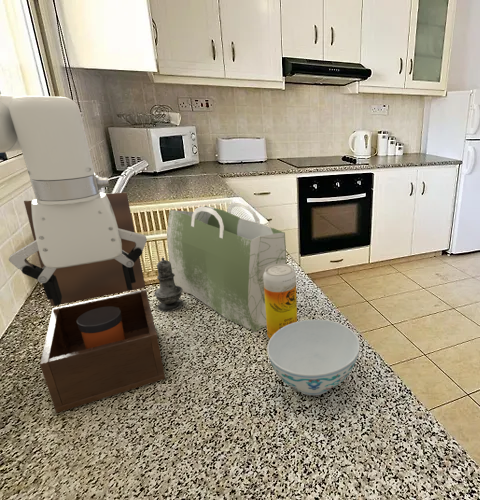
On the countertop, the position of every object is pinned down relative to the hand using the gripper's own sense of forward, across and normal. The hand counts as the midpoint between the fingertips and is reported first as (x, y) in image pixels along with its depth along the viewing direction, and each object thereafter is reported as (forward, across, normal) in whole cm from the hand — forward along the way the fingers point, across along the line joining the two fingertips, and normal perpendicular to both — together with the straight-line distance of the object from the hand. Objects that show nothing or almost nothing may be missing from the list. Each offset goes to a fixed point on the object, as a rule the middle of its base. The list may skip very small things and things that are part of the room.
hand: (95, 294), depth 60 cm
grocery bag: (+15, -25, -16) cm, 34 cm away
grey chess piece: (+15, -12, -20) cm, 27 cm away
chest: (+15, 0, -2) cm, 15 cm away
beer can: (+16, -29, +5) cm, 33 cm away
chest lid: (-4, 0, -12) cm, 13 cm away
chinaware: (+16, -29, +20) cm, 38 cm away
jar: (+14, 0, 0) cm, 14 cm away
